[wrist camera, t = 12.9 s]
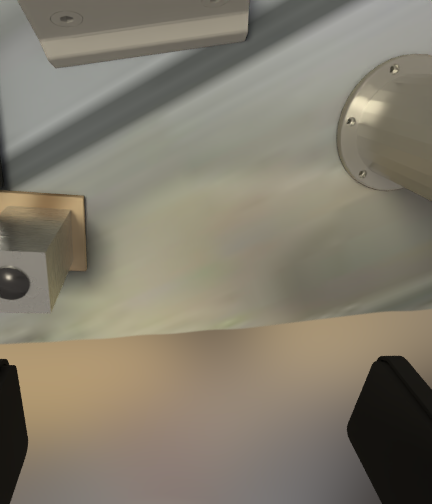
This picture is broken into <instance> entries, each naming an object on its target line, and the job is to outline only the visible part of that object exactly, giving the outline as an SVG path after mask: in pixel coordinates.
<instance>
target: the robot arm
mask: <svg viewBox="0 0 432 504" xmlns="http://www.w3.org/2000/svg"><path fill="white" fill-rule="evenodd" d="M390 68H391V71H390ZM348 119H349V122H348V123H347V120H348ZM337 148H338V152H339V156H340V160H341V162H342V164H343V166H344V168H345V169H346V171H347V172H348V173H349V174H350V176H351V177H353V178H354V179H355V180H357V181H358V182H359V183H361V184H363V185H365V186H367V187H369V188H372V189H376V190H384V191H389V190H398V189H401V188H406V189H408V190H410V191H412V192H414V193H416V194H418V195H420V196H422V197H424V198H426V199H428V200H430V201H432V56H431V55H427V54H410V55H402V56H399V57H395V58H392V59H390V60H388V61H386V62H384V63H382V64H380V65H378V66H377V67H376V68H374V69H373V70H372V71H370V72H369V73H368V74H367V75H366V76H365V77H364V78H363V79H362V80H361V81H360V82H359V83H358V84H357V85H356V87H355V88H354V90H353V91H352V93H351V94H350V96H349V97H348V99H347V101H346V103H345V106H344V108H343V110H342V113H341V116H340V120H339V123H338V131H337ZM360 171H361V172H360ZM347 432H348V437H349V439H350V442H351V443H352V445H353V447H354V449H355V451H356V453H357V455H358V457H359V459H360V461H361V463H362V465H363V467H364V469H365V471H366V473H367V475H368V477H369V479H370V481H371V483H372V485H373V487H374V489H375V491H376V493H377V495H378V496H379V498H380V500H381V502H382V504H432V389H430V387H429V386H428V385H427V384H426V382H425V381H424V380H423V379H422V378H421V377H420V375H419V374H418V373H417V372H416V370H415V369H414V368H413V367H412V366H411V364H410V363H409V362H408V361H407V360H406V359H405V358H404V357H402V356H380V357H379V358H378V360H377V361H375V362H374V363H373V364H372V366H371V369H370V371H369V374H368V376H367V379H366V381H365V384H364V386H363V388H362V391H361V393H360V396H359V398H358V400H357V403H356V405H355V408H354V410H353V413H352V415H351V418H350V420H349V422H348V426H347ZM27 447H28V436H27V430H26V424H25V417H24V411H23V406H22V399H21V393H20V386H19V380H18V374H17V368H16V366H15V365H9V363H8V360H7V359H0V504H10V501H11V498H12V495H13V492H14V489H15V486H16V483H17V480H18V477H19V474H20V471H21V468H22V466H23V462H24V459H25V456H26V453H27Z"/></svg>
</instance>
